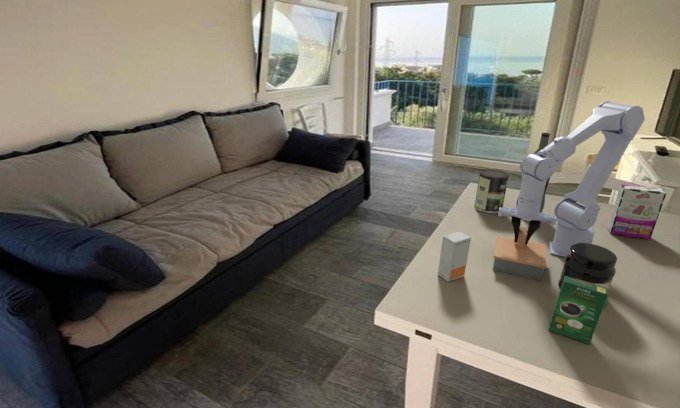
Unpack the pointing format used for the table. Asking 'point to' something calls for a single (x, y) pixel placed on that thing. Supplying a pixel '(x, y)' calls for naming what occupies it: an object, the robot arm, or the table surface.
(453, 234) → the skincare box
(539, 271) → the tub
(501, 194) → the coffee can
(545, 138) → the bottle
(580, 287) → the coffee box
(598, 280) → the supplement container
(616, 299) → the table surface
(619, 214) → the candy bar box
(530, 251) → the lid
